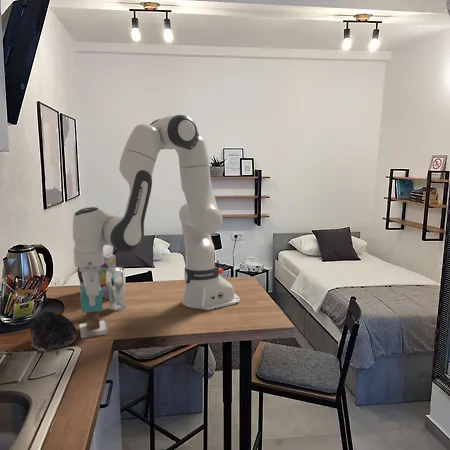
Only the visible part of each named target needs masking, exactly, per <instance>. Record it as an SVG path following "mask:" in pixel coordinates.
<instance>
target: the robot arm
mask: <svg viewBox="0 0 450 450" xmlns="http://www.w3.org/2000/svg"><path fill="white" fill-rule="evenodd" d="M161 150H175V151H176V154H177V156H178V164H179V166H178V168H179V174H180V176H179V178H180V183H181V184H180V186H181V190H182V192H183V193H184V197H185V201H186V202H185V203H184V204H183V205H182V206H180V208H179V211H178V216H179V220H180V222H181V230H182V235H183V236H182V237H183V241H184V248H185V249H184V250H185V267H184V274H183V275H184V282H185V283H184V284H185V286H184V291H183V297H182V301H181V303H182V305H184V307H188V308H192V309H199V310H204V311H212V310H215V308H216V309H219V307H220V308H223V307H227V306H232V305H236V303H237V304H240V302H241V301H240V300H241V299H240V297H239V296H238V295H237V294H236V293H235V291H234V287H233V285H232V284H231V283H230V282H229V281H228V280H227V279H225V278H223V276H222V275H223V274H224V271H225V270H224V269H223V268H221V267H217V266H216V265H215V244H214V243H213V239H212V236H211V235H213V234H216V233H217V232H218V231H220V229H221V228H222V226H223V216H222V213H221V211H220V210H219V208H218V204H217V200H216V197H215V194H214V190H213V187H212V186H213V185H212V177H211V168H210V167H211V166H210V159H209V152H208V149H207V145H206V142H205V139H204V138H203V137H202V136H200V135H199V130H198V128H197V125H196V123H195V121H194V120H193V118H191V117H190V116H188V115H185V114H184V115H183V114H176V115H168V116H164V117H163V118H162V117H161V118H158V119H156V120H153V121H152V122H151V123H150V124H147V123H140V124H137V125H136V126H134V129H132V131H131V133H130V135H129V137H128V138H127V141H126V143H125V146H124V149H123V152H122V153H121V156H120V160H119V166H118V168H119V173H120V174H121V176H122V177H123V179H124V181H126V182H127V184H128V187H129V195H128V199H127V203H126V207H125V211H124V214H123V216H122V217H121V216H117V215H113V214H109V213H107V212H105V211H103V210H101V209H99V208H98V207H95V206H91V207H84V208H80V209H78V210H77V211H76V212H75V213H74V214H73V219H72V239H73V241H74V246H73V247H74V248H73V261H74V266H75V268H78V267H79V271H81V273H82V278H83V282H84V286H85V291H86V295H87V297H89V305H90V306H94V305H95V297H96V296H98V295H99V280H98V272H97V271H98V270H99V269H100V266H101V265H103V264H104V255H103V253H104V247H105V246H110V247H114V248H115V249H116V250H118V251H120V252H124V253H130V252H134V251H135V250H137V249H138V248H139V247H140V246H141V245H142V243H143V241H144V237H145V227H144V226H145V219H146V214H147V210H148V209H147V208H148V205H149V200H150V196H151V192H152V186H153V172H154V168H155V165H156V161H157V159H158V156H159V155H158V154H160V151H161Z"/></svg>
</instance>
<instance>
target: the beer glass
mask: <svg viewBox="0 0 450 450" xmlns="http://www.w3.org/2000/svg"><path fill="white" fill-rule="evenodd" d="M106 286H107V291H108V295H109V299H108V310H109V311H112V312H119V311H123V310H125V309H126V303H125V298H124V297H125V290H126V272H125V268H124V267H120V266H116V267H113V268H108V269H107V270H106Z"/></svg>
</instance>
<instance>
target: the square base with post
mask: <svg viewBox="0 0 450 450" xmlns="http://www.w3.org/2000/svg"><path fill="white" fill-rule="evenodd" d="M79 334H80V339H86V338H91V337H97V336H106V335H108V328H107V325H106V321H105V320H100V311H94V312H86V313H85V322H84V323H80V324H79Z"/></svg>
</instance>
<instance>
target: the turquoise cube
mask: <svg viewBox="0 0 450 450" xmlns="http://www.w3.org/2000/svg"><path fill="white" fill-rule="evenodd" d="M79 295H80V308H81V313H82V314H83V313H84V314H86V312H94V311H99V312H101V311H103V298H102V290H101V287H100V285H99V295H98V296H96V297H95V305H94V306H90V305H89V297H87V295H86V291H85V286H83V287H80V286H79Z"/></svg>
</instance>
